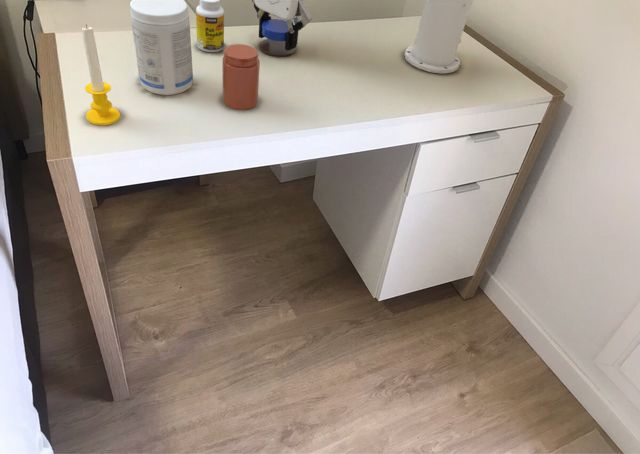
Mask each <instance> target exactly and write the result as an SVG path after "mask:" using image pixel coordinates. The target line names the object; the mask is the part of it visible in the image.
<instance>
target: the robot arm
mask: <svg viewBox="0 0 640 454" xmlns="http://www.w3.org/2000/svg"><path fill="white" fill-rule="evenodd" d="M251 2H252V4H253V8H254V10H255V11H256V17H257V19H258V20H259V21H258V38H259V39H263V38H265V37H264V36H263V35H262V23H263V22H264V21H266V20H270V19H272V16H274V17H277V18H278V19H280V20H285V21H287V25H288V29H289V31H288V32H287V33H286V42H285V50H287V51H289V50H291V49H294V48H295V49H296V48H297V46H298V39H299V31H302V29H303V28H305V27H306V26H307V25H308V24H310V22H312V20H313V17H312V15H311V13H310V11H309V9H308V8H307V6H306V0H251ZM473 2H474V0H425V2H424V6H423V10H422V13H421V17H420V20H419V25H418V29H417V32H416V37H415V40H414V43H413V45H409V46H408V47H407V48H406V49H405V51H404V58H405V60H406V62H407V63H409V64H410V65H411V66H413V67H415V68H417V69H419V70H422V71H424V72H428V73H433V74H441V75H442V74H451V73H454V72H456V71H457V70H458V69H459V67H460V64H461V61H460V59H459V57H458V56H457V52H458V47H459V46H460V44H461V43H462V35H463V32H464V29H465V26H466V23H467V20H468V17H469V13H470V11H471V9H472V4H473ZM270 15H272V16H270ZM300 17H301V18H300Z"/></svg>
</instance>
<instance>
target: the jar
mask: <svg viewBox="0 0 640 454" xmlns="http://www.w3.org/2000/svg"><path fill="white" fill-rule="evenodd" d="M224 48H225V49H224V50H223V57H222V102H223V104H224V105H225V106H226V107H228V108H230V109H232V110H236V111H247V110H251V109H254V108H255V107H256V106H257V105H258V104H259V103H258V102H259V86H260V85H259V84H260V68H261V67H260V65H261V64H260V62H261V60H260V58H259V52H258V51H259V50H258V49H257V48H255V47H253V46H252V45H248V44H242V43H235V44H230V45H228V46H226V47H224Z"/></svg>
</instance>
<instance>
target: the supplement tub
mask: <svg viewBox="0 0 640 454" xmlns="http://www.w3.org/2000/svg"><path fill="white" fill-rule="evenodd" d="M129 8H130V11H129V13H130V21H131V22H130V23H131V29H132V35H133V36H132V37H133V43H134V49H135V56H136V57H135V58H136V64H137V65H136V66H137V70H138V78H139V82H140V85H141V86H142V87H143V89H145V90H147V92H150V93H153V94H156V95H163V96H164V95H165V96H172V95H177V94H180V93H183V92H185V91H187V90H188V89H190V88H191V87H192V85H193V83H194V72H193V71H194V69H193V53H192V38H191V24H190V22H191V21H190V12H189V7H188V4H187V2H186V1H185V0H131V1H130V2H129Z"/></svg>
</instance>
